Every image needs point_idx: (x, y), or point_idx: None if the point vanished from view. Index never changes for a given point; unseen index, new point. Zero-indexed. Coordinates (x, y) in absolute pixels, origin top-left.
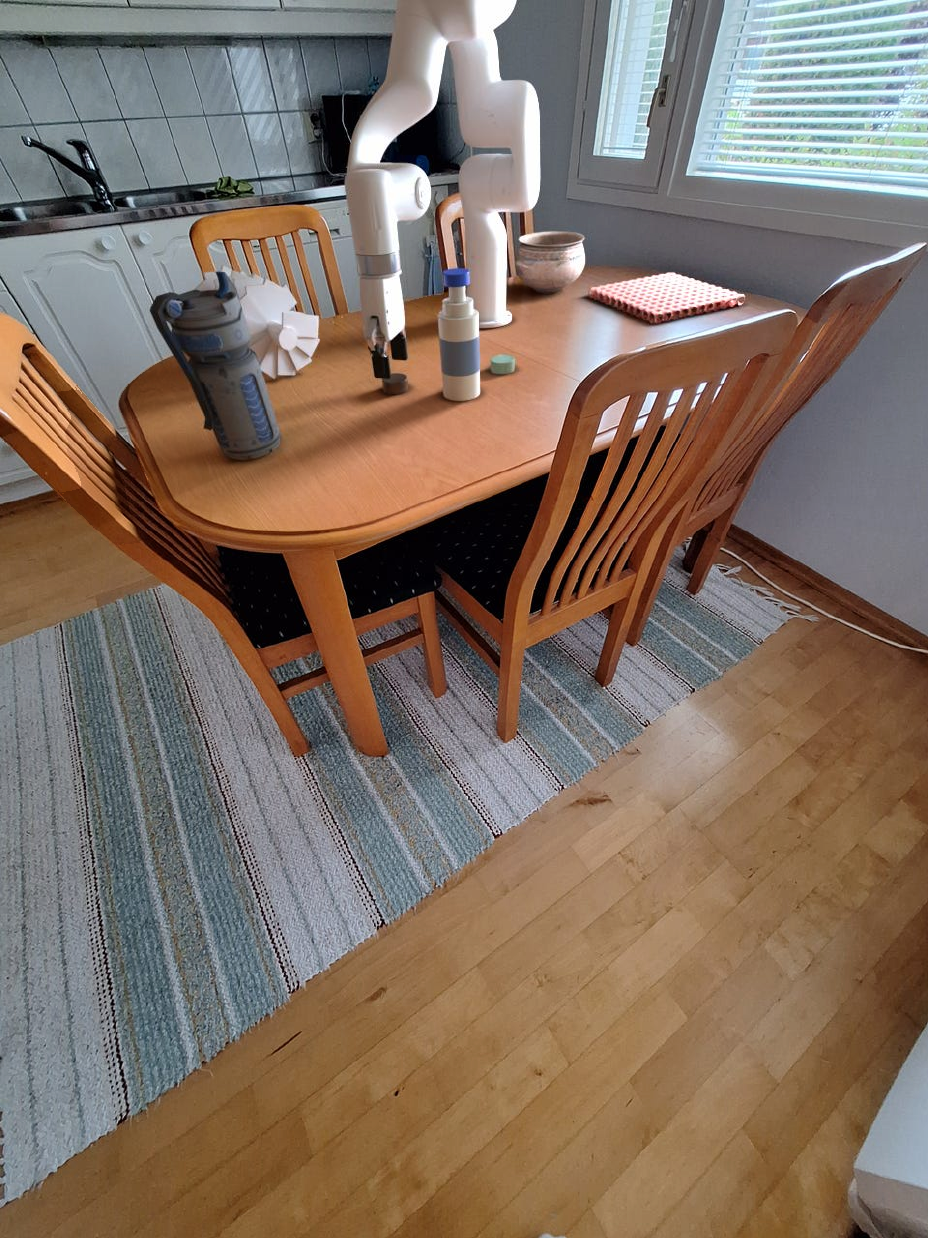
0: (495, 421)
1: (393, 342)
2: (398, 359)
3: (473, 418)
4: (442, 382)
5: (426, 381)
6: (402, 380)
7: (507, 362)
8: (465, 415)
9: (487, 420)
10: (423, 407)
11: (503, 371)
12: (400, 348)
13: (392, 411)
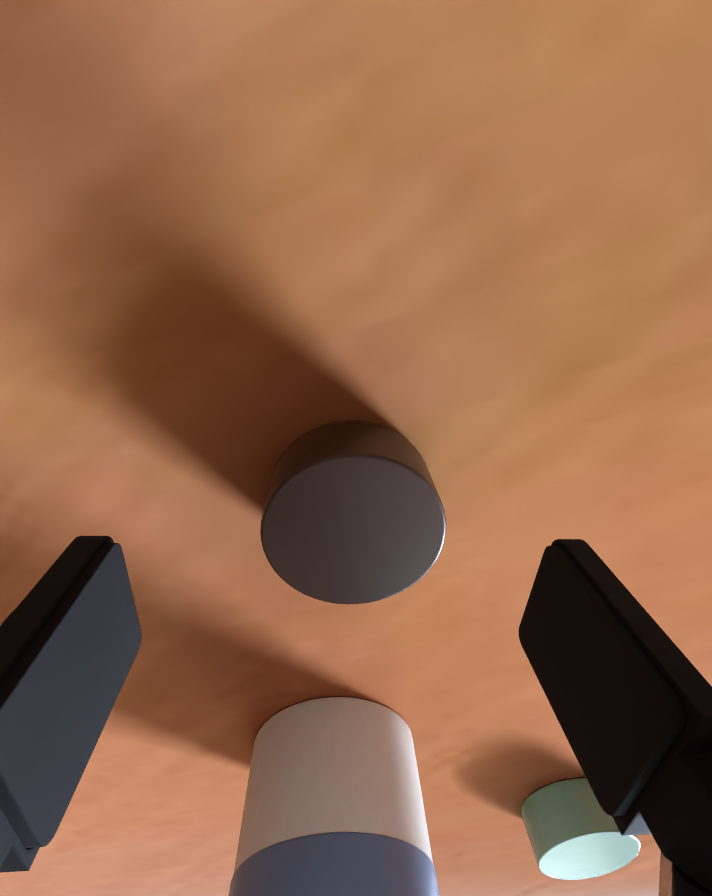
0: (123, 848)
1: (633, 702)
2: (532, 588)
3: (120, 807)
4: (300, 764)
5: (466, 608)
6: (316, 592)
7: (544, 871)
8: (134, 787)
9: (121, 834)
10: (152, 664)
11: (525, 823)
12: (570, 695)
13: (49, 555)
